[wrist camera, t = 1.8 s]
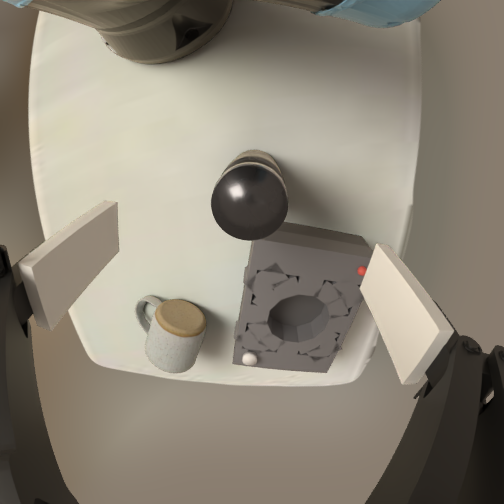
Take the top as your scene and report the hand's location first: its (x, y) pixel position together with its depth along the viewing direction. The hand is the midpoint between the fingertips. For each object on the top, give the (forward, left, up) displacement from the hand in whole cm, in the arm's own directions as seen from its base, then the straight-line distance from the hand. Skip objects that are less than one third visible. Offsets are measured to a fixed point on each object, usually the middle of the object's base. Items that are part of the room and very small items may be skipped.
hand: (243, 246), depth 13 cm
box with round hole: (+14, +8, -18) cm, 24 cm away
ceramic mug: (+22, -8, -18) cm, 30 cm away
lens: (0, 0, -18) cm, 18 cm away
